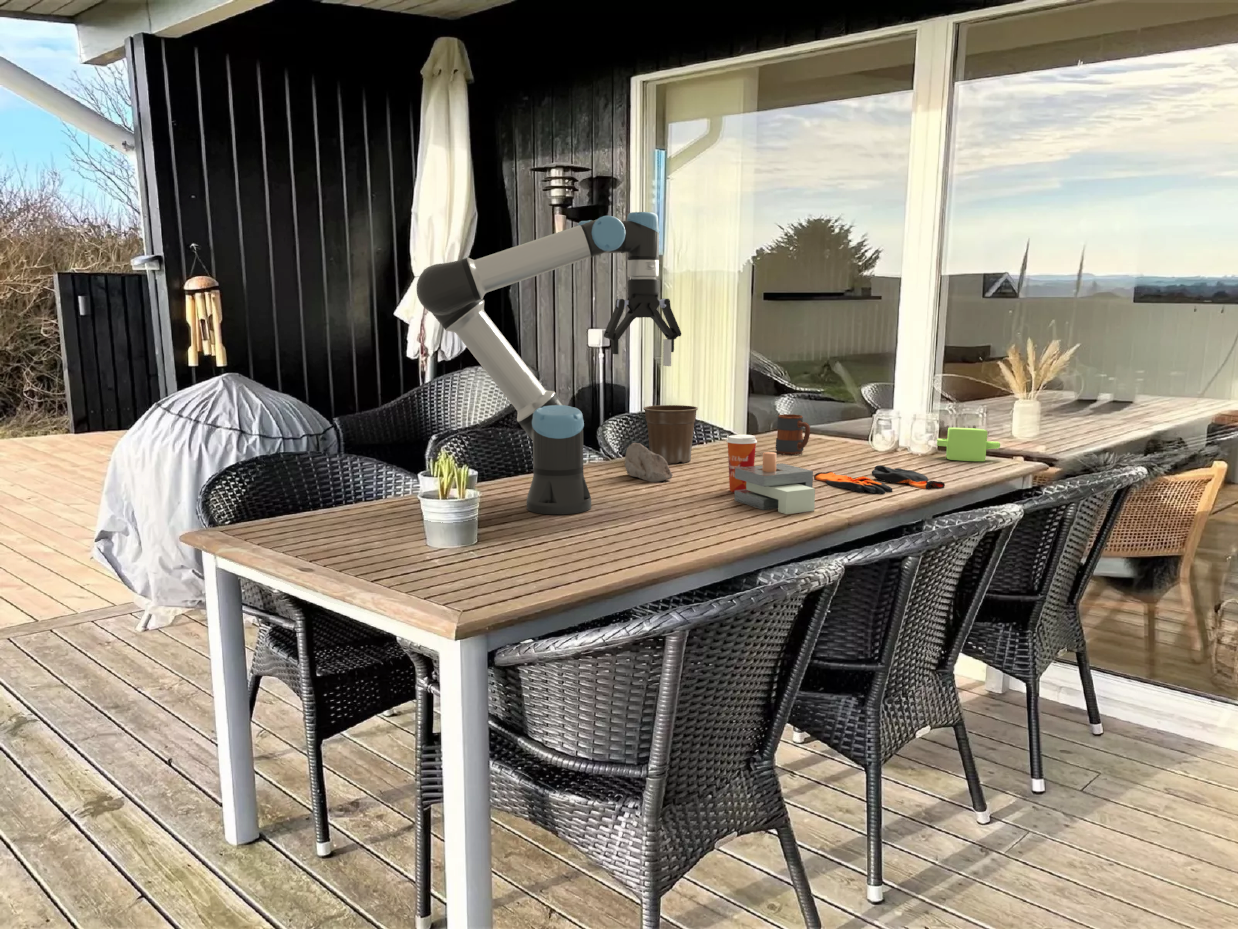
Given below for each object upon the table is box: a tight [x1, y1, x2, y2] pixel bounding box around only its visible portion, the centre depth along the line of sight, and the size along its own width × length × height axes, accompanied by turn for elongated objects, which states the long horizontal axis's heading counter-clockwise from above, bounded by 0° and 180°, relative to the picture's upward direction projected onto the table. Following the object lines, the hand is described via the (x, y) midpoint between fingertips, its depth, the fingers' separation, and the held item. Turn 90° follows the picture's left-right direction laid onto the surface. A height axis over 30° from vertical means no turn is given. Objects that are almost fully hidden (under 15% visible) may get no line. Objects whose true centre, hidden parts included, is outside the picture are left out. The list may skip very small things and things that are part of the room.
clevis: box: [733, 463, 814, 511], centre depth 236 cm, size 14×12×8 cm
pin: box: [762, 451, 777, 472], centre depth 235 cm, size 3×3×12 cm
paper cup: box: [725, 434, 758, 494], centre depth 249 cm, size 8×8×14 cm
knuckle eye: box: [746, 482, 816, 515], centre depth 232 cm, size 8×16×5 cm, turn 27°
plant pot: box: [643, 404, 699, 465], centre depth 294 cm, size 16×16×16 cm
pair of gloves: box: [813, 464, 945, 495], centre depth 260 cm, size 27×24×3 cm
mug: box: [775, 413, 811, 456], centre depth 308 cm, size 9×12×12 cm
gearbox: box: [936, 427, 1001, 462], centre depth 297 cm, size 18×10×10 cm, turn 76°
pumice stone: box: [624, 442, 673, 483], centre depth 267 cm, size 15×8×10 cm, turn 37°
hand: (643, 367), depth 241 cm, fingers open, 13 cm apart
